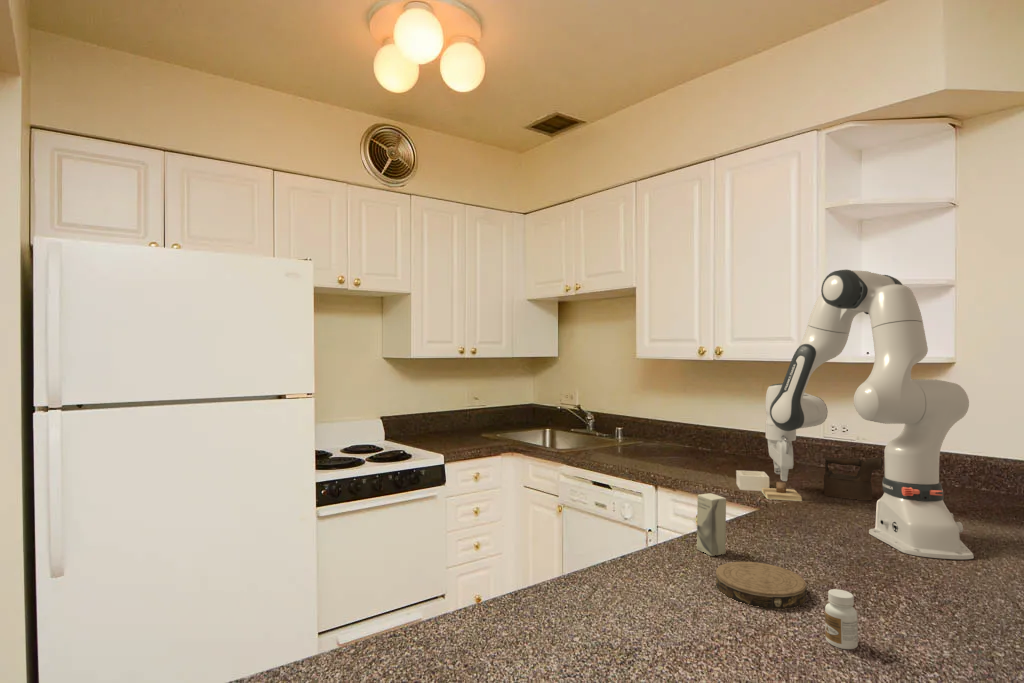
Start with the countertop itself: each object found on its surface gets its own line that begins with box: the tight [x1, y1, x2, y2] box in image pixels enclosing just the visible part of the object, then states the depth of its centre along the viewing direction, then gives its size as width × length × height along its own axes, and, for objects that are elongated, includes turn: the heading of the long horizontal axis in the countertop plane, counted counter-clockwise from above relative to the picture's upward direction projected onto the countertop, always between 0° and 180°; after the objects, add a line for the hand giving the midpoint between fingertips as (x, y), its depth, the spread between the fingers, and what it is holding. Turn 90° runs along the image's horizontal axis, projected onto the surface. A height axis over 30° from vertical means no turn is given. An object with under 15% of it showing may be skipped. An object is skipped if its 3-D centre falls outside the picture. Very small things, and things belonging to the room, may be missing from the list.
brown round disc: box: [715, 561, 807, 610], centre depth 109 cm, size 16×16×3 cm
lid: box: [761, 481, 803, 502], centre depth 179 cm, size 10×10×4 cm
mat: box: [761, 491, 801, 502], centre depth 179 cm, size 10×10×1 cm
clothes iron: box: [823, 455, 884, 501], centre depth 179 cm, size 8×16×13 cm, turn 51°
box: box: [696, 492, 727, 557], centre depth 130 cm, size 5×4×13 cm
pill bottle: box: [824, 588, 859, 650], centre depth 89 cm, size 4×4×8 cm
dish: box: [735, 469, 770, 492], centre depth 191 cm, size 9×9×5 cm
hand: (780, 477), depth 180 cm, fingers open, 8 cm apart
